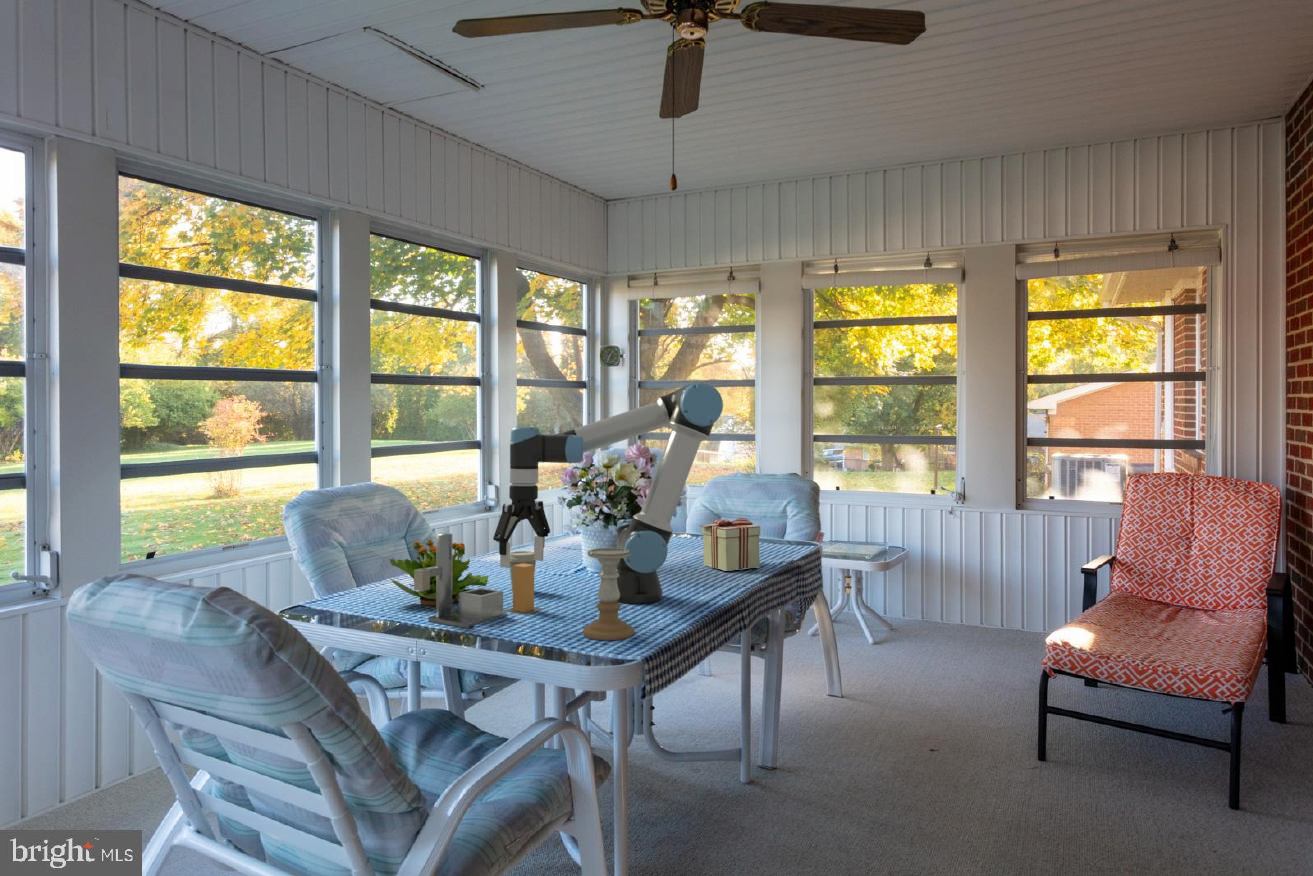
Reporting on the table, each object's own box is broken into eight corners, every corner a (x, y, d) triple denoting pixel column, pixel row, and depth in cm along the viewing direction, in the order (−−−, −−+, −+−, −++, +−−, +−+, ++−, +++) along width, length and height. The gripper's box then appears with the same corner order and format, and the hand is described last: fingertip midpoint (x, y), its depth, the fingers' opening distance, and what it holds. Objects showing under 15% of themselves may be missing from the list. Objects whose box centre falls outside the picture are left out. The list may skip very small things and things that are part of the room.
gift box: (728, 561, 305) (729, 514, 304) (762, 569, 290) (763, 519, 289) (691, 565, 295) (692, 517, 295) (725, 574, 280) (725, 523, 279)
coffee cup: (539, 590, 250) (539, 551, 250) (532, 596, 242) (532, 555, 242) (512, 590, 251) (512, 550, 251) (504, 596, 243) (504, 555, 242)
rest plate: (544, 611, 224) (544, 608, 224) (525, 617, 217) (525, 614, 217) (521, 607, 228) (521, 605, 228) (502, 613, 221) (502, 610, 221)
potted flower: (456, 615, 219) (456, 549, 218) (373, 610, 223) (373, 545, 223) (491, 595, 243) (492, 535, 243) (416, 591, 248) (416, 533, 247)
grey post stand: (507, 617, 217) (507, 533, 216) (453, 633, 200) (453, 542, 200) (467, 610, 224) (468, 529, 223) (412, 625, 208) (412, 537, 207)
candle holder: (580, 640, 195) (581, 555, 194) (585, 627, 207) (585, 546, 207) (633, 641, 195) (633, 555, 194) (634, 627, 207) (635, 547, 207)
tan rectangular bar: (534, 609, 223) (534, 564, 223) (524, 612, 220) (524, 567, 220) (522, 607, 226) (522, 563, 225) (512, 610, 222) (512, 565, 222)
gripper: (542, 481, 235) (541, 556, 235) (480, 486, 213) (478, 568, 214) (563, 482, 231) (562, 559, 231) (502, 488, 209) (500, 572, 210)
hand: (522, 563), depth 222 cm, fingers open, 13 cm apart
